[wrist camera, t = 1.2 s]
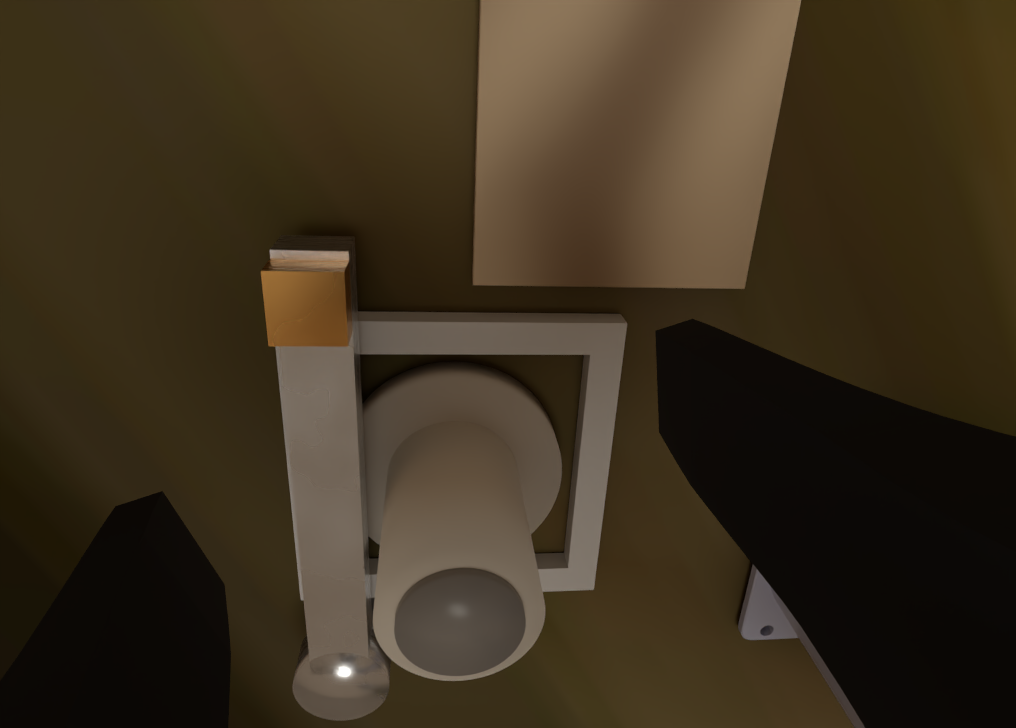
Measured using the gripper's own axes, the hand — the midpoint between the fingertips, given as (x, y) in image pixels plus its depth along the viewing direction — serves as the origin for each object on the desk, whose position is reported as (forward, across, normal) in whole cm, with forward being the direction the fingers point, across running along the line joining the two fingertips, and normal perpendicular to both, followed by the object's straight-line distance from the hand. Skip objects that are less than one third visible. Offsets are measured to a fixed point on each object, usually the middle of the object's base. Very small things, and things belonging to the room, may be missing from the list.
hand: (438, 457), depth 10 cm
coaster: (+10, -8, 0) cm, 12 cm away
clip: (+8, +3, +8) cm, 12 cm away
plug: (+9, -1, +8) cm, 12 cm away
